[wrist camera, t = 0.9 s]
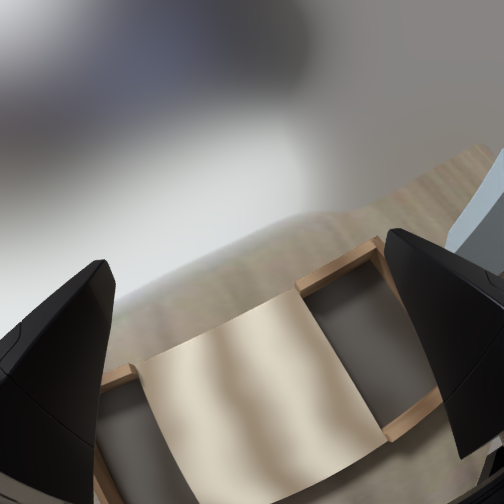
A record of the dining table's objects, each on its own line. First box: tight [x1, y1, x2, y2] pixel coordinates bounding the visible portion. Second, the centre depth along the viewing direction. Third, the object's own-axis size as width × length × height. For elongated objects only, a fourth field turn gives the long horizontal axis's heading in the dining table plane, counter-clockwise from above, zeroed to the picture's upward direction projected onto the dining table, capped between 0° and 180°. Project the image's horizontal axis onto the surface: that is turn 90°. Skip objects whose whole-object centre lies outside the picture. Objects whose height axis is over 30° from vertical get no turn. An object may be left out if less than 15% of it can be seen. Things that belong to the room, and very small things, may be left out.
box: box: [94, 236, 443, 504], centre depth 19 cm, size 30×14×3 cm, turn 117°
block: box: [445, 149, 504, 276], centre depth 18 cm, size 5×5×12 cm
